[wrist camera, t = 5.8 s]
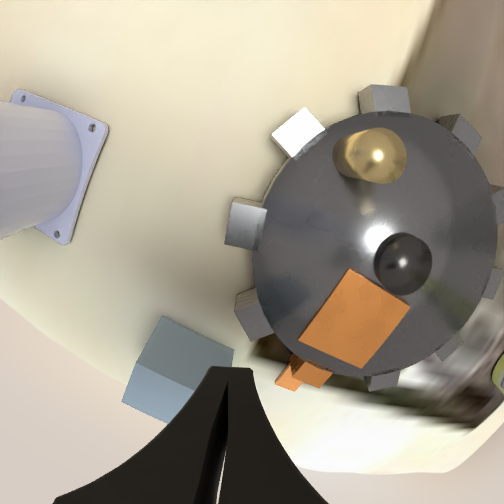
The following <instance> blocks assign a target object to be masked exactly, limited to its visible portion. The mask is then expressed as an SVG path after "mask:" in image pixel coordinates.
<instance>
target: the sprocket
mask: <svg viewBox="0 0 504 504" xmlns="http://www.w3.org/2000/svg"><path fill="white" fill-rule="evenodd" d="M358 96H359V102H360V110H361V115H356V116H353V117H350V118H348V119H345V120H343V121H340V122H338V123H335V124H333V125H331V126H329V127H327V128H325V129H324V127H323V126H322V125H321V124H320V123H319V122H318V121H317V120H316V118H315V117H314V116H313V115H312V114H311V113H310V112H309V111H308V110H307V109H306V107H304V108H302V109H301V110H300V111H299V112H297V113H296V114H295V115H294V116H293V117H291V118H290V119H289V120H288V121H287V122H285V123H284V124H283V125H282V126H281V127H279V128H278V129H277V130H276V131H275V132H274V133H272V134H271V137H270V138H271V140H272V141H273V142H274V143H275V144H276V145H277V146H278V147H279V148H280V149H281V150H282V151H283V153H284V154H285V155H286V156H287V157H288V159H287V160H286V161H285V162H284V163H283V165H282V166H281V168H280V169H279V170H278V172H277V173H276V175H275V176H274V178H273V179H272V181H271V183H270V185H269V187H268V189H267V191H266V193H265V195H264V198H263V201H262V202H257V201H252V200H247V199H243V198H238V197H235V199H234V200H233V202H232V206H231V211H230V216H229V221H228V227H227V232H226V237H225V243H224V244H226V245H231V246H236V247H241V248H246V249H251V250H253V273H254V283H255V288H253V289H250V290H248V291H245V292H243V293H240V294H238V295H237V298H236V304H235V310H234V312H235V314H236V316H237V318H238V319H239V321H240V323H241V325H242V327H243V329H244V330H245V332H246V334H247V336H248V338H249V339H250V341H253V340H256V339H259V338H262V337H264V336H267V335H270V334H273V333H275V334H276V335H277V336H278V338H279V339H280V340H281V341H282V343H283V344H284V345H285V346H286V347H288V348H289V349H290V350H291V351H292V352H293V353H292V355H291V356H290V357H289V359H290V367H291V374H292V378H294V379H297V380H299V381H302V382H304V383H307V384H310V385H312V386H315V387H317V388H320V387H321V386H322V385H323V383H324V382H325V381H326V380H327V379H328V378H329V377H330V376H331V375H332V373H335V374H340V375H345V376H357V377H364V380H365V382H366V385H367V387H368V389H369V391H374V390H379V389H383V388H388V387H392V386H396V385H397V384H398V379H399V375H400V370H402V369H404V368H407V367H409V366H411V365H414V364H416V363H418V362H420V361H421V360H423V359H425V358H427V357H428V356H430V355H431V354H433V353H434V352H435V353H436V355H437V356H438V357H439V359H440V360H441V361H444V360H445V359H446V358H447V357H448V356H449V355H450V354H452V353H453V352H454V351H455V350H456V349H457V348H458V347H459V346H460V345H462V344H463V343H464V342H463V340H462V338H461V336H460V333H459V330H460V329H461V328H462V327H463V325H464V324H465V323H466V321H467V320H468V319H469V318H470V316H471V315H472V313H473V312H474V310H475V308H476V307H477V305H478V303H479V302H480V300H481V298H482V297H484V298H488V299H494V297H495V294H496V292H497V289H498V286H499V284H500V281H501V278H502V276H503V273H504V271H502V270H500V269H499V268H497V267H495V266H493V265H494V261H495V255H496V248H497V230H498V228H497V226H498V225H500V224H501V223H503V222H504V187H500V186H495V185H490V184H489V182H488V180H487V178H486V176H485V174H484V171H483V169H482V168H481V166H480V164H479V163H478V161H477V160H476V158H475V156H474V155H475V153H476V150H477V148H478V146H479V143H480V141H481V138H482V137H481V136H480V134H479V133H478V132H477V131H476V130H475V129H474V128H473V127H472V126H471V125H470V124H469V122H468V121H467V120H466V119H465V118H464V117H463V116H462V115H461V114H455V115H449V116H443V117H441V118H440V120H439V122H438V123H436V122H433V121H431V120H429V119H427V118H424V117H422V116H418V115H414V114H411V111H410V104H409V97H408V91H407V87H398V86H386V85H369V86H368V87H366V88H365V89H363V90H362V91H360V92H359V93H358Z"/></svg>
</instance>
